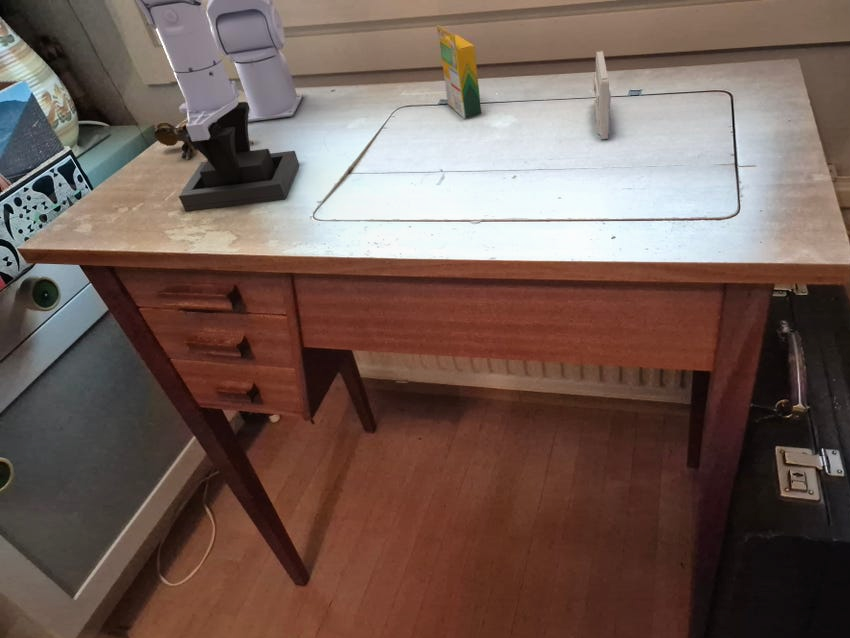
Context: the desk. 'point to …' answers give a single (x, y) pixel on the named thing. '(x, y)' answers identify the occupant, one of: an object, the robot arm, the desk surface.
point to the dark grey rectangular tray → (242, 187)
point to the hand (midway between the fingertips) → (238, 171)
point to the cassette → (602, 96)
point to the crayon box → (460, 74)
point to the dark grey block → (243, 169)
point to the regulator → (175, 137)
